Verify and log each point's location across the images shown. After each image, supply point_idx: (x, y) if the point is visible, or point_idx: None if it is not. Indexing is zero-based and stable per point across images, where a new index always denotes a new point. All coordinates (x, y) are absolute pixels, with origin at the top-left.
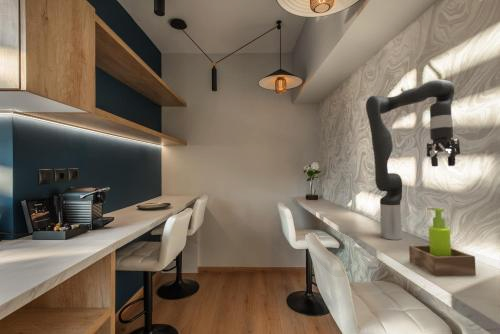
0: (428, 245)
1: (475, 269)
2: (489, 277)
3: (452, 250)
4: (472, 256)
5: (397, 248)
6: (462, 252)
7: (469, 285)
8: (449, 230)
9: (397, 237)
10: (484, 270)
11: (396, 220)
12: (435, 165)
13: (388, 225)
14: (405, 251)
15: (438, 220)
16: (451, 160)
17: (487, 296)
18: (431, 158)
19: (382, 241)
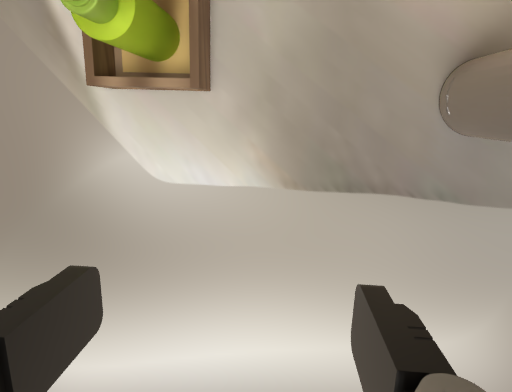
0: (196, 32)
1: (104, 87)
2: (99, 108)
3: (151, 77)
4: (87, 79)
5: (341, 27)
6: (121, 82)
7: (57, 18)
8: (78, 25)
9: (443, 98)
10: (139, 137)
11: (483, 94)
12: (356, 320)
13: (488, 60)
14: (305, 34)
15: None
16: (8, 309)
17: (8, 9)
18: (429, 366)
19: (437, 24)
